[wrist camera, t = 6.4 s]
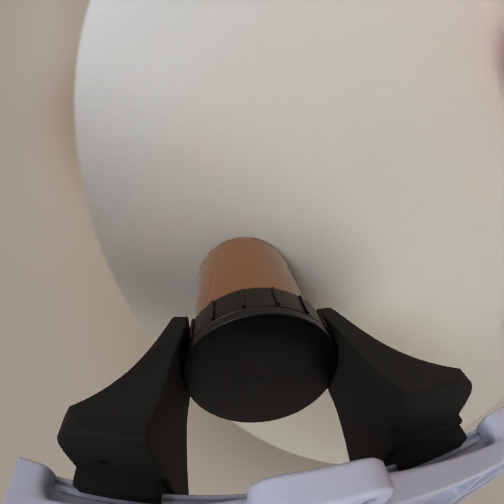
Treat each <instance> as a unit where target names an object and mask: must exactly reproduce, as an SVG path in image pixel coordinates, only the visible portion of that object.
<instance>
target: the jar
mask: <svg viewBox="0 0 504 504" xmlns="http://www.w3.org/2000/svg"><path fill="white" fill-rule="evenodd" d="M271 287H275V289H280V290H284V291H287V292H290V293H293V294H295V295H297V296H299V295H301V296H302V294H301V292H300V290H299V287H298V285H297V283H296V281H295V279H294V277H293V275H292V273H291V271H290V269H289V267H288V265H287V263H286V261H285V259H284V258H283V256H282V254H281V253H280V252H279V251H278V250H277V249H276V248H275V247H273V246H272V245H270V244H269V243H267V242H265V241H262V240H259V239H255V238H237V239H232V240H229V241H226V242H224V243H222V244H220V245H219V246H217V247H216V248H215V249H213V250H212V251H211V252H210V253H209V254H208V256H207V257H206V258H205V260H204V262H203V264H202V266H201V269H200V274H199V282H198V291H197V301H196V311H195V318H196V316H197V315H198V314H199V313H200V312H201V311H202V310H203V309H204V308H205V307H207V306H208V305H209V304H210V303H211V301H212V300H214V301H215V300H217V299H218V298H220V297H222V296H224V295H226V294H229V293H232V292H235V291H239V290H240V289H241V288H243V289H249V288H271ZM302 297H303V296H302ZM303 299H304V298H303Z"/></svg>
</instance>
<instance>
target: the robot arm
mask: <svg viewBox="0 0 504 504" xmlns="http://www.w3.org/2000/svg"><path fill="white" fill-rule="evenodd" d="M318 311H319V312H320V313H321V315H322V317H323V319H324V321H325V323H326V325H327V327H328V328H329V330H327V331H328V333H329V335H330V337H331V339H332V341H333V343H334V345H335V348H336V352H337V367H336V371H335V374H334V377H333V379H332V381H331V383H330V384H329V386H328V387H327V388H328V390H329V393H330V395H331V397H332V399H333V402H334V404H335V407H336V409H337V413H338V416H339V419H340V423H341V426H342V430H343V434H344V438H345V442H346V446H347V451H348V455H349V460H350V462H346V463H342V464H337V465H333V466H328V467H323V468H318V469H313V470H307V471H301V472H294V473H287V474H281V475H277V476H272V477H268V478H265V479H263V480H261V481H258V482H256V483H254V484H253V485H252V486H251V487H250V489H249V490H248V491H247V494H235V495H189V493H188V492H189V491H188V474H187V440H186V439H187V415H188V407H189V400H190V395H189V393H188V391H187V389H186V387H185V384H184V381H183V363H184V362H182V359H183V355H184V351H185V344H186V337H187V333H188V330H189V321H188V317H173V318H172V319H171V321H170V322H169V324H168V325H167V327H166V328H165V330H164V331H163V332H162V334H161V335H160V336H159V338H158V339H157V340H156V342H155V343H154V344H153V345H152V347H151V348H150V349H149V350H148V351H147V353H146V354H145V355H144V356H143V357H142V358H141V359H140V360H139V361H138V362H137V363H136V364H135V365H134V366H133V367H132V368H131V369H130V370H129V371H128V372H127V373H126V374H124V375H123V376H122V377H120V378H119V379H118V380H116V381H115V382H114V383H112V384H111V385H110V386H108V387H106V388H105V389H103V390H102V391H100V392H98V393H97V394H95V395H93V396H91V397H89V398H87V399H85V400H83V401H81V402H79V403H77V404H75V405H72V406H70V407H69V409H68V411H67V413H66V415H65V417H64V420H63V422H62V425H61V428H60V430H59V433H58V436H57V440H58V443H59V445H60V447H61V448H62V450H63V451H64V452H65V454H66V455H67V456H68V457H69V458H70V460H71V461H72V462H73V463H74V465H76V471H75V475H74V479H73V480H69V479H65V478H61V477H57V476H56V475H55V474H54V473H53V471H51V469H50V468H48V467H47V466H45V465H43V464H41V463H38V462H35V461H31V460H28V459H25V458H22V457H18V460H17V462H16V465H15V468H14V471H13V473H12V476H11V479H10V482H9V485H8V488H7V491H6V494H5V497H4V500H3V504H457V503H459V502H460V501H462V500H464V499H465V498H467V497H468V496H470V495H472V494H473V493H474V492H476V491H478V490H479V489H481V488H482V487H484V486H485V485H487V484H488V483H490V482H491V481H493V480H494V479H496V478H497V477H499V476H500V475H501V474H502V473H503V472H504V407H501V408H499V409H497V410H496V411H494V412H492V413H490V414H489V415H487V416H486V417H485V418H483V420H482V421H481V422H480V423H479V425H478V426H477V429H476V430H473V431H471V432H469V433H468V434H465V433H464V431H463V429H462V428H461V426H460V425H459V424H461V422H462V419H461V418H460V416H459V415H458V414H459V413H460V411H461V410H462V408H463V406H464V405H465V403H466V401H467V400H468V398H469V396H470V394H471V389H472V384H471V382H470V380H469V379H468V378H467V377H466V376H465V374H464V373H463V372H462V371H461V369H458V368H452V367H446V366H441V365H437V364H433V363H429V362H426V361H422V360H419V359H416V358H414V357H411V356H409V355H406V354H404V353H401V352H399V351H397V350H395V349H393V348H391V347H389V346H387V345H385V344H383V343H381V342H380V341H378V340H376V339H375V338H373V337H371V336H370V335H368V334H367V333H365V332H364V331H362V330H361V329H359V328H358V327H357V326H355V325H354V324H352V323H351V322H350V321H348V320H347V319H346V318H344V317H343V316H342V315H340V314H339V313H337V312H336V311H335V310H333V309H332V308H322V309H317V312H318Z"/></svg>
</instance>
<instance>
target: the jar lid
mask: <svg viewBox="0 0 504 504" xmlns="http://www.w3.org/2000/svg"><path fill="white" fill-rule="evenodd" d="M327 330H329V328H328V327H327V325H326V323H325V321H324V319H323V317H322V315H321V313H320V312H319V311H318V312H317V311H316V310H315V309H314V308H313V307H312V306H311V304H309V303H308V302H307V301H305V300H304V299H303V297H302V296H301V295H299V296H297V295H295V294H293V293H290V292H287V291H284V290H280V289H275V287H271V288H249V289H243V288H241V289H240V290H239V291H235V292H232V293H229V294H226V295H224V296H222V297H220V298H218V299H217V300H215V301H214V300H212V301H211V303H210V304H209V305H208V306H207V307H205V308H204V309H203V310H202V311H201V312H200V313H199V314H198V315H197V316H196V318H195V319H192V320H191V326H190V328H189V330H188V333H187V337H186V344H185V351H184V355H183V359H182V362H184V363H183V381H184V384H185V387H186V389H187V391H188V393H189V395H190V396H191V397H192V399H193V400H194V401H195V402H196V403H197V404H198V405H199V406H200V407H202V408H203V409H204V410H206V411H208V412H210V413H211V414H213V415H216V416H218V417H221V418H224V419H227V420H232V421H238V422H265V421H271V420H276V419H280V418H283V417H286V416H289V415H292V414H294V413H296V412H298V411H300V410H302V409H304V408H305V407H307V406H309V405H310V404H311V403H313V402H314V401H315V400H316V399H317V398H319V397H320V396H321V395H322V394H323V392H324V391H325V390H326V389H327V387H328V386H329V384H330V383H331V381H332V379H333V377H334V374H335V371H336V367H337V352H336V348H335V345H334V343H333V341H332V339H331V337H330V335H329V333H328V331H327Z"/></svg>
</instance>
